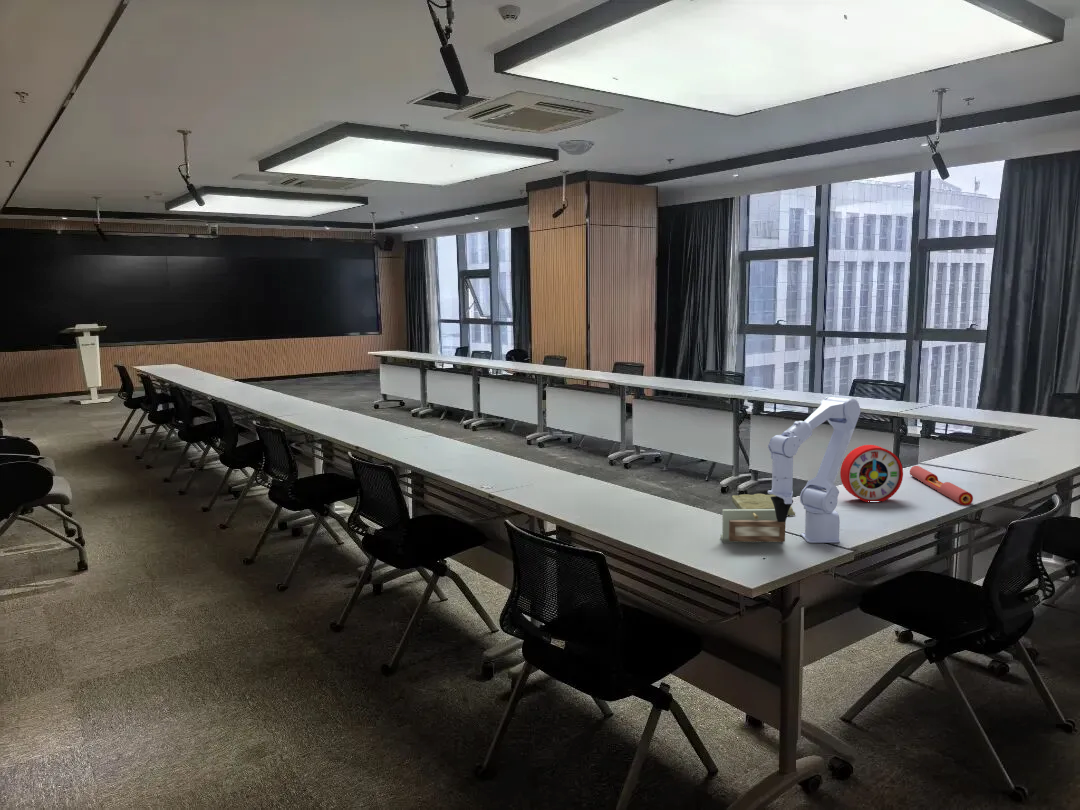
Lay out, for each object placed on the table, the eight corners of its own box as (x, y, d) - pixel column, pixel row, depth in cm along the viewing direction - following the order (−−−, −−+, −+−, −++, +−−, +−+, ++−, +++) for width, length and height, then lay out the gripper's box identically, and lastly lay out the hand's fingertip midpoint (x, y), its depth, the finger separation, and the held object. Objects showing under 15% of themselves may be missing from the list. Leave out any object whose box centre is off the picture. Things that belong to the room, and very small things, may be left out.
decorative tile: (743, 518, 249) (744, 508, 249) (731, 502, 269) (731, 493, 268) (799, 517, 248) (800, 507, 248) (782, 502, 268) (783, 492, 268)
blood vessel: (972, 505, 257) (973, 492, 256) (957, 505, 257) (958, 492, 256) (922, 477, 298) (922, 465, 297) (909, 477, 298) (909, 465, 298)
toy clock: (846, 503, 262) (848, 448, 259) (839, 499, 268) (841, 445, 265) (901, 502, 262) (904, 447, 259) (893, 497, 268) (896, 443, 265)
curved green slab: (779, 538, 226) (780, 506, 225) (786, 546, 218) (787, 513, 217) (720, 538, 227) (720, 506, 226) (725, 546, 220) (725, 514, 218)
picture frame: (783, 540, 218) (784, 520, 217) (784, 541, 216) (785, 522, 215) (728, 539, 219) (729, 520, 218) (729, 541, 217) (730, 521, 216)
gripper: (762, 470, 222) (761, 514, 224) (774, 482, 208) (773, 528, 209) (786, 470, 221) (785, 514, 223) (800, 482, 207) (798, 528, 209)
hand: (781, 521), depth 216 cm, fingers closed, pressing on picture frame
